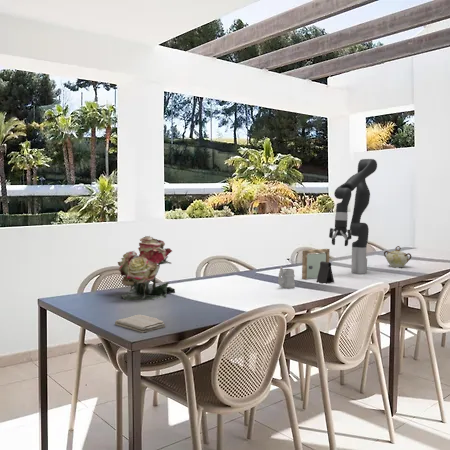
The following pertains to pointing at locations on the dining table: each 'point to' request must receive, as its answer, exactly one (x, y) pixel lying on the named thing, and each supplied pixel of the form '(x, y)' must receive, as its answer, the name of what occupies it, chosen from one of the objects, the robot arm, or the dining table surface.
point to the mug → (286, 278)
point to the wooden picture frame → (304, 259)
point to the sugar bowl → (397, 258)
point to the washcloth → (140, 323)
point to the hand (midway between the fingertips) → (339, 245)
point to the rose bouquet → (144, 270)
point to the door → (314, 264)
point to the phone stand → (325, 273)
